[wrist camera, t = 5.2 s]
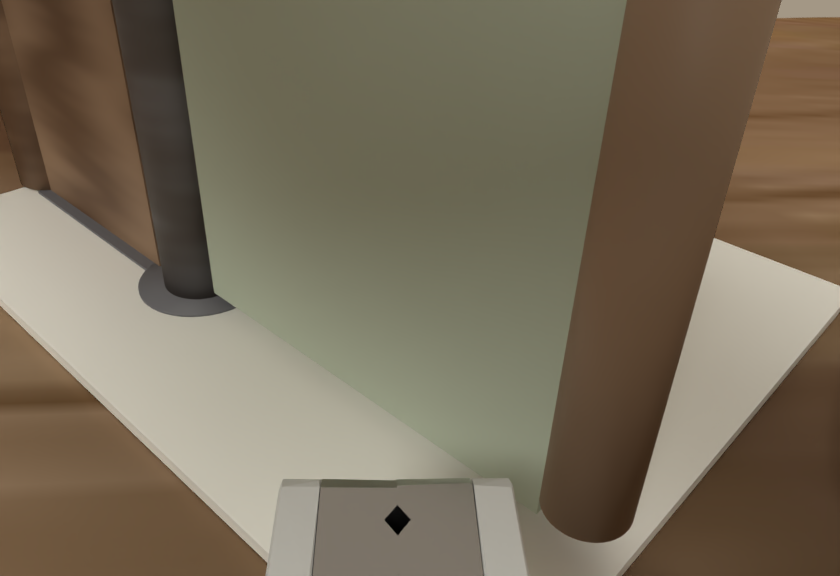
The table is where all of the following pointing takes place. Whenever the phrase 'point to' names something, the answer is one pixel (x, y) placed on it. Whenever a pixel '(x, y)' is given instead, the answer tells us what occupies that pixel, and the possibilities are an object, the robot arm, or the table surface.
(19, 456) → the table surface
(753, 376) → the card
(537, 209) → the fence panel
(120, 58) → the fence
